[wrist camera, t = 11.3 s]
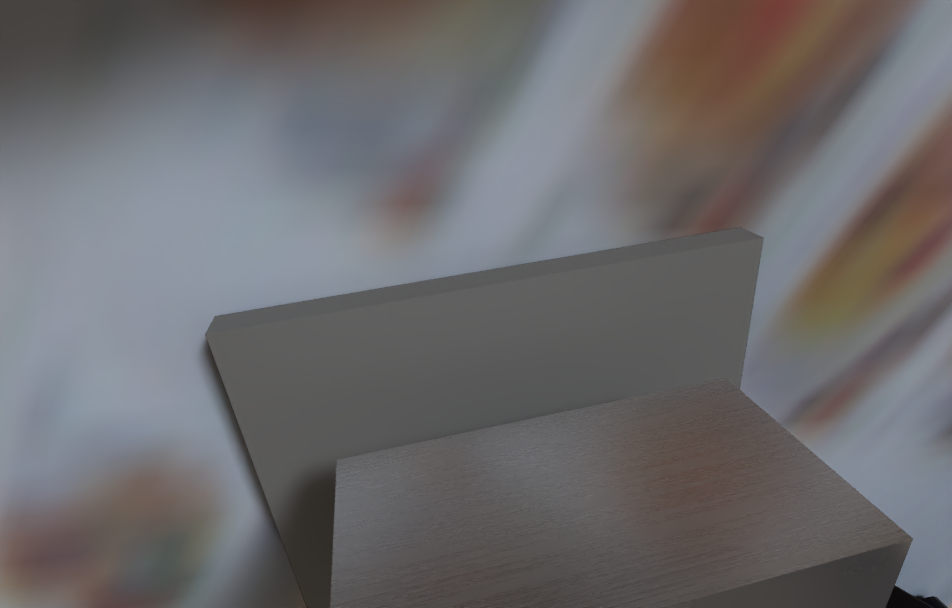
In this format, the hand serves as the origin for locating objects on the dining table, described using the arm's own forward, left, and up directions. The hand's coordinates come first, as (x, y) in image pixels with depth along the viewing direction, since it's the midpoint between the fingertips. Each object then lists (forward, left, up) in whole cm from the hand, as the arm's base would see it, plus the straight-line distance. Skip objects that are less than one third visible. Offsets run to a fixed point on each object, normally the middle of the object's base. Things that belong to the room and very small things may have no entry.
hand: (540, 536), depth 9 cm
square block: (0, 0, 0) cm, 1 cm away
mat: (0, 0, -2) cm, 2 cm away
